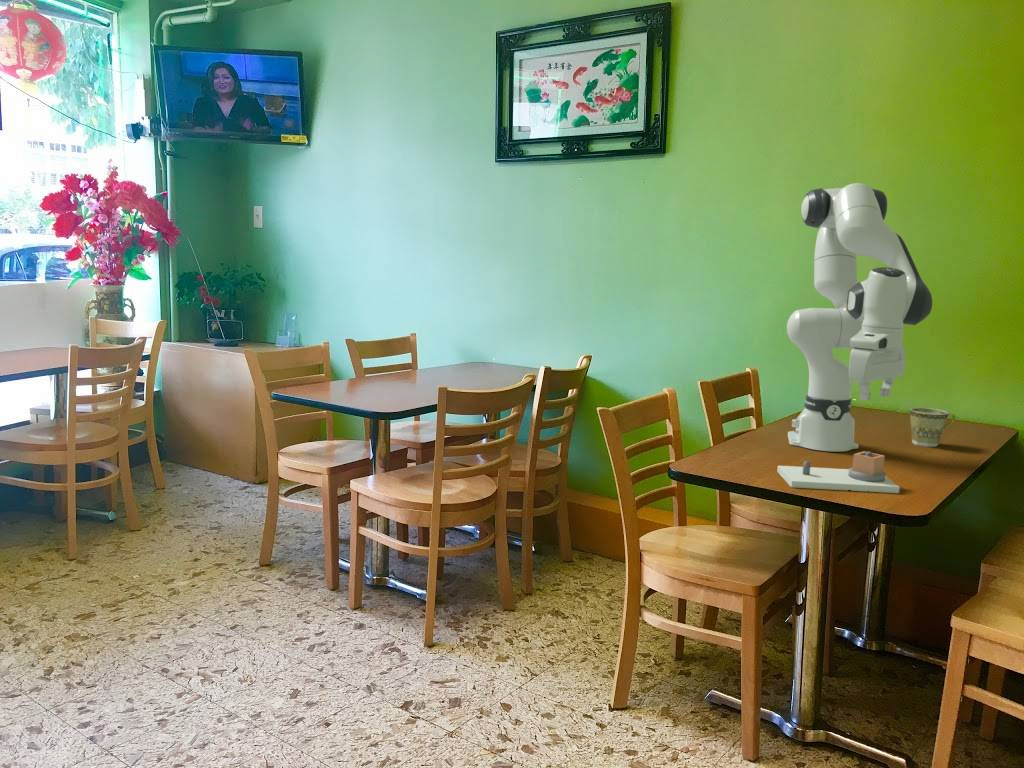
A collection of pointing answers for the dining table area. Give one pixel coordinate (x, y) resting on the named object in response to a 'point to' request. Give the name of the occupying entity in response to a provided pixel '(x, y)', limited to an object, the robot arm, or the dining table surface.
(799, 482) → the board
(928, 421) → the ceramic cup
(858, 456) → the collar
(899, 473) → the dining table surface
